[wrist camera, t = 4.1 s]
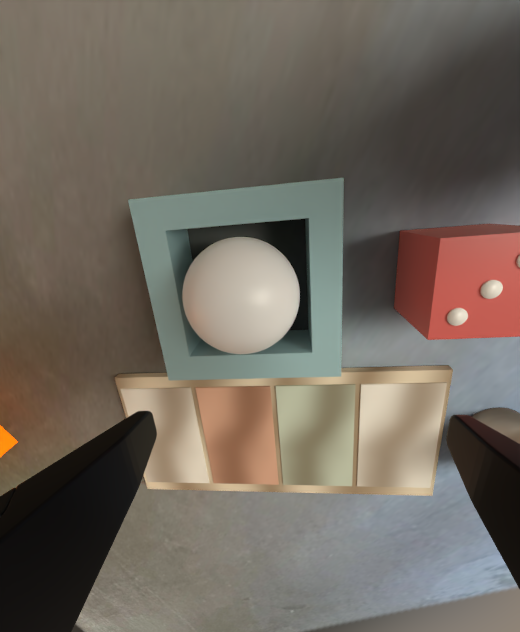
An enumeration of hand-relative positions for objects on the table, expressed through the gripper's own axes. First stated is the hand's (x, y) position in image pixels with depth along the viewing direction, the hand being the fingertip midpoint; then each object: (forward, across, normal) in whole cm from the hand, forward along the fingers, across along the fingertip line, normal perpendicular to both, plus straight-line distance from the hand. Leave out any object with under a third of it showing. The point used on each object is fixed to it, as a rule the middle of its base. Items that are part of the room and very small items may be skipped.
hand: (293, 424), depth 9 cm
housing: (+12, +3, -2) cm, 12 cm away
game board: (+12, +1, +11) cm, 16 cm away
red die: (+12, -9, -2) cm, 15 cm away
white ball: (+11, +3, -2) cm, 12 cm away
